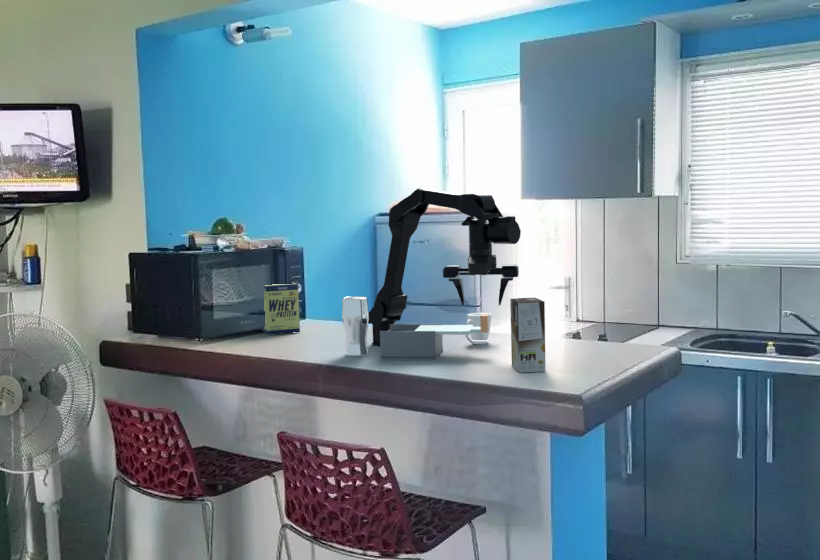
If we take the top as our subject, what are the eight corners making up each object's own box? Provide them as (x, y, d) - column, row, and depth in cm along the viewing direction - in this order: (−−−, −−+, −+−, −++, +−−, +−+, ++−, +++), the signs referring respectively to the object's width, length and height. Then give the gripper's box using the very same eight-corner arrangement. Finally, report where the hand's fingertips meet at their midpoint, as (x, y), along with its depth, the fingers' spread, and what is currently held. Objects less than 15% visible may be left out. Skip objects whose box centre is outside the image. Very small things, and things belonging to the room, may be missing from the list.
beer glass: (374, 352, 212) (372, 296, 211) (364, 357, 206) (362, 299, 205) (349, 351, 215) (347, 296, 213) (339, 356, 208) (337, 299, 207)
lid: (413, 334, 200) (413, 318, 200) (420, 328, 211) (420, 312, 211) (486, 334, 197) (486, 317, 197) (490, 327, 208) (489, 311, 208)
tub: (380, 359, 201) (379, 331, 201) (390, 350, 214) (390, 324, 214) (435, 359, 199) (435, 331, 198) (442, 350, 212) (442, 323, 211)
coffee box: (546, 371, 180) (545, 301, 179) (518, 373, 180) (517, 302, 179) (536, 364, 189) (535, 296, 188) (510, 365, 189) (509, 297, 188)
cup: (497, 342, 223) (497, 313, 222) (476, 347, 216) (475, 317, 215) (477, 340, 228) (476, 311, 227) (455, 345, 220) (455, 316, 219)
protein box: (267, 335, 249) (265, 285, 247) (258, 329, 263) (256, 282, 262) (300, 333, 252) (298, 283, 251) (289, 327, 267) (287, 280, 266)
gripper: (439, 245, 195) (440, 309, 197) (516, 244, 192) (517, 309, 193) (445, 243, 206) (446, 303, 208) (518, 242, 203) (519, 303, 204)
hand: (481, 305), depth 203 cm, fingers open, 9 cm apart
